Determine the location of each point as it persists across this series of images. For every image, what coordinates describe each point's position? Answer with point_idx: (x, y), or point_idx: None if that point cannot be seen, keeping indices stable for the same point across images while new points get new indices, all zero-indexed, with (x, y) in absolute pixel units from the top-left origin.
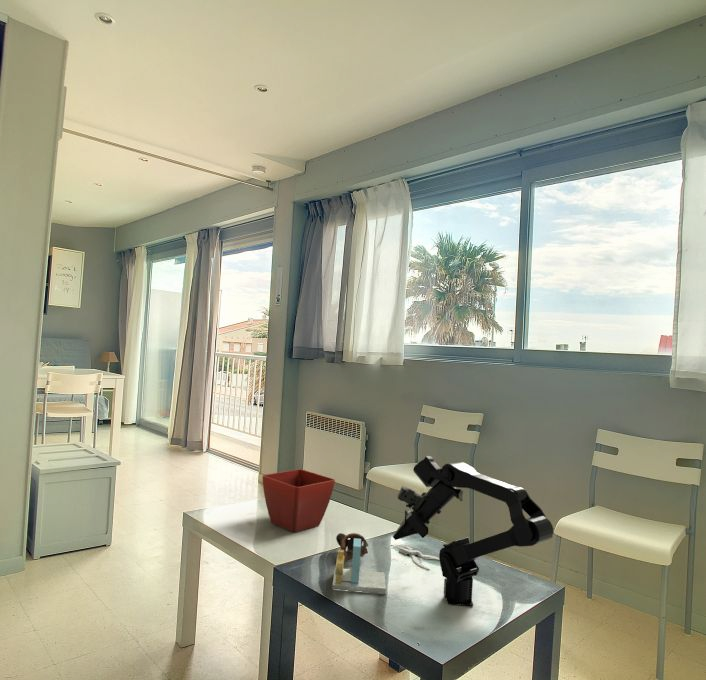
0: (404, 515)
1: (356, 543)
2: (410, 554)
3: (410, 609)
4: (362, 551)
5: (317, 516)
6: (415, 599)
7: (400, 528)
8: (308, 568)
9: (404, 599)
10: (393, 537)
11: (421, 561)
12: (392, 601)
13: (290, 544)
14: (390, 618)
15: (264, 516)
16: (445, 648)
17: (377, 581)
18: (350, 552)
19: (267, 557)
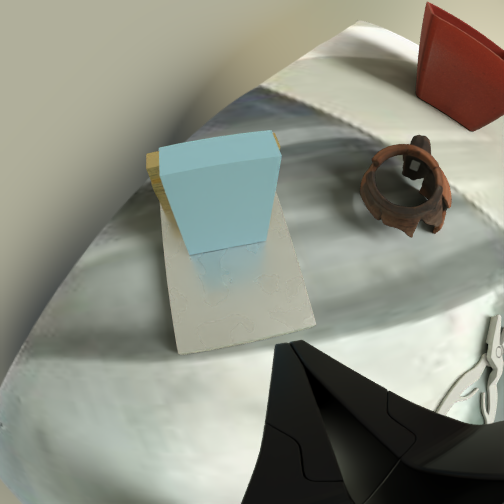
0: (501, 435)
1: (202, 149)
2: (487, 354)
3: (115, 434)
4: (395, 216)
5: (472, 112)
6: (185, 451)
7: (264, 430)
8: (273, 127)
9: (171, 418)
10: (274, 349)
11: (464, 400)
12: (143, 381)
13: (368, 92)
14: (55, 375)
15: None
16: (8, 472)
17: (226, 315)
18: (367, 184)
19: (286, 72)
